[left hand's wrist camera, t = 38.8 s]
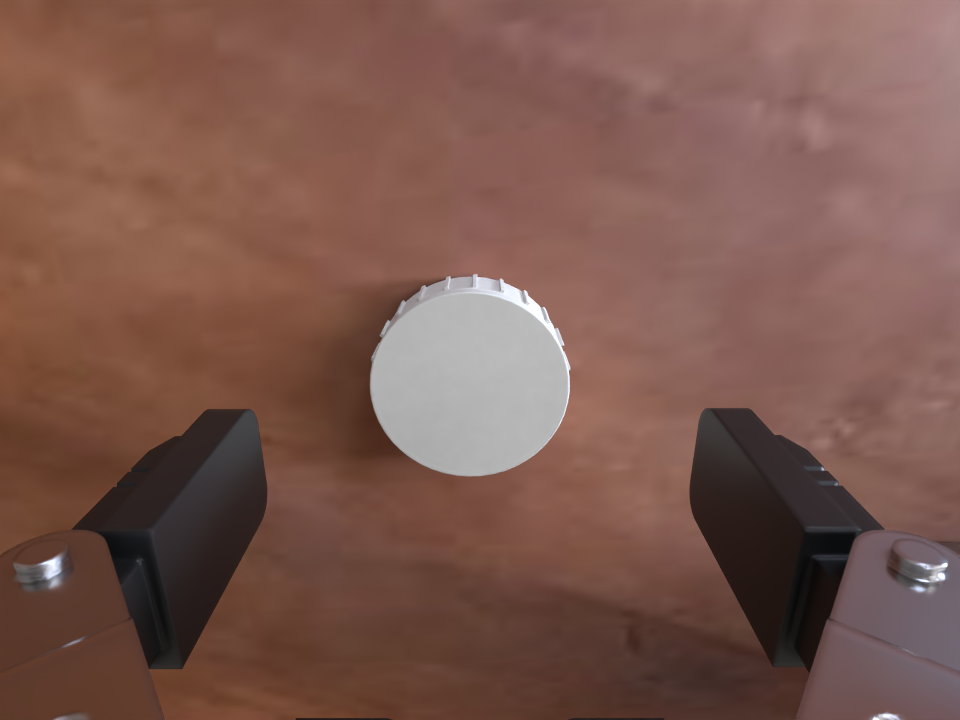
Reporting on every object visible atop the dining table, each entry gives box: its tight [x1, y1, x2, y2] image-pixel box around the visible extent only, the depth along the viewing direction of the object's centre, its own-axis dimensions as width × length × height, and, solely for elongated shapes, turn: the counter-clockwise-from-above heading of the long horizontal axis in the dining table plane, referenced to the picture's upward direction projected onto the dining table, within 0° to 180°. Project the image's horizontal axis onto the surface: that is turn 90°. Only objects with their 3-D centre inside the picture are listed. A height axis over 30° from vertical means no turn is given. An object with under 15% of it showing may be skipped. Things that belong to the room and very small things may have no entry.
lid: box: [370, 274, 570, 476], centre depth 17 cm, size 5×5×2 cm
